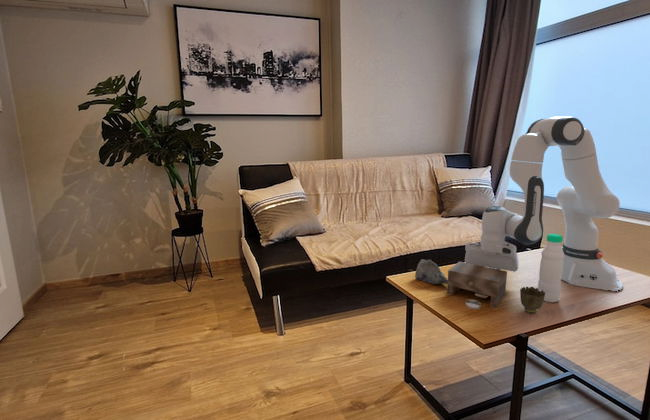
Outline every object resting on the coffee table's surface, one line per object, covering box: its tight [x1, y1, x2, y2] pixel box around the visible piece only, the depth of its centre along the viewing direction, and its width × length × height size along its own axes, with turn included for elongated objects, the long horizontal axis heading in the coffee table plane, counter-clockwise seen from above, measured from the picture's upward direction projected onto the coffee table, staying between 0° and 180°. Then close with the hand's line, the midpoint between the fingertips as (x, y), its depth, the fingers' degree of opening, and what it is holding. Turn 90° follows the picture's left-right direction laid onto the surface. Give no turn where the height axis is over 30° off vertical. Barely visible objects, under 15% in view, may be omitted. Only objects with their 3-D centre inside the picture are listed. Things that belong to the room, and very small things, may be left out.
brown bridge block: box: [446, 261, 508, 308], centre depth 133 cm, size 18×13×10 cm
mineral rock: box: [414, 258, 448, 285], centre depth 145 cm, size 13×11×10 cm
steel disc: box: [465, 299, 482, 310], centre depth 126 cm, size 5×5×2 cm
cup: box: [519, 286, 545, 315], centre depth 120 cm, size 8×7×8 cm
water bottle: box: [537, 233, 564, 303], centre depth 127 cm, size 7×7×25 cm
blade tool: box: [474, 267, 496, 299], centre depth 140 cm, size 22×4×5 cm, turn 145°
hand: (489, 276), depth 145 cm, fingers closed on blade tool, 2 cm apart
